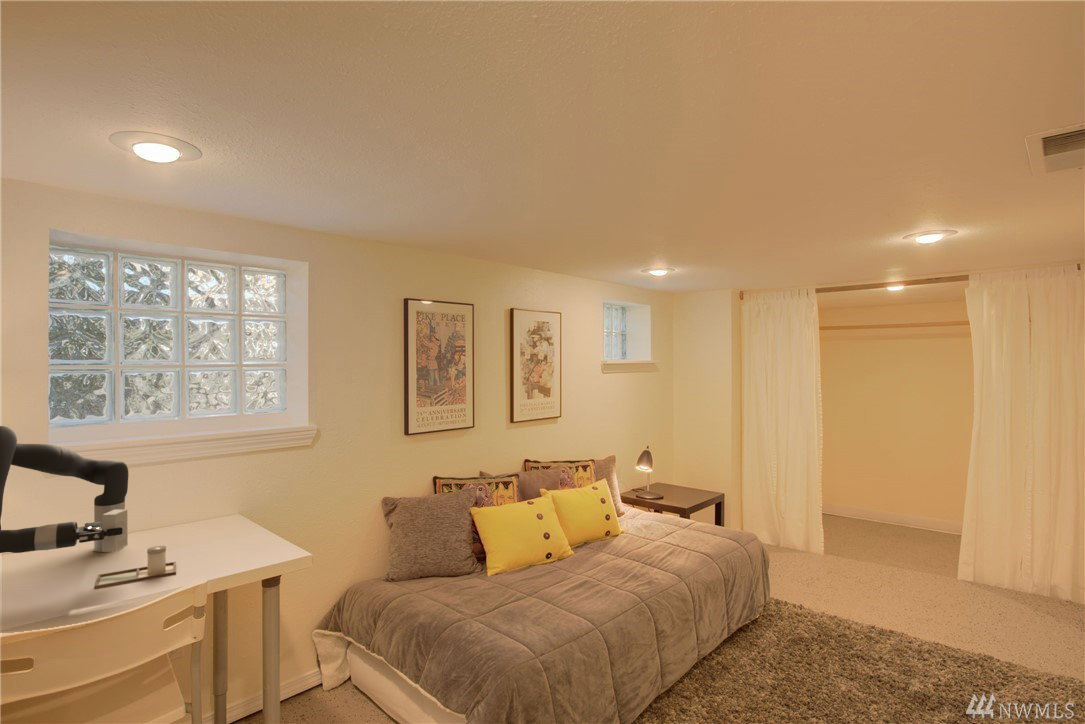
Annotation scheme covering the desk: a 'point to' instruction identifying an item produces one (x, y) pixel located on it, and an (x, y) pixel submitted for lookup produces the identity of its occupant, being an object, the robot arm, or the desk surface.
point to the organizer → (131, 576)
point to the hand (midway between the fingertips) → (123, 527)
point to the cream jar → (156, 560)
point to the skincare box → (115, 521)
